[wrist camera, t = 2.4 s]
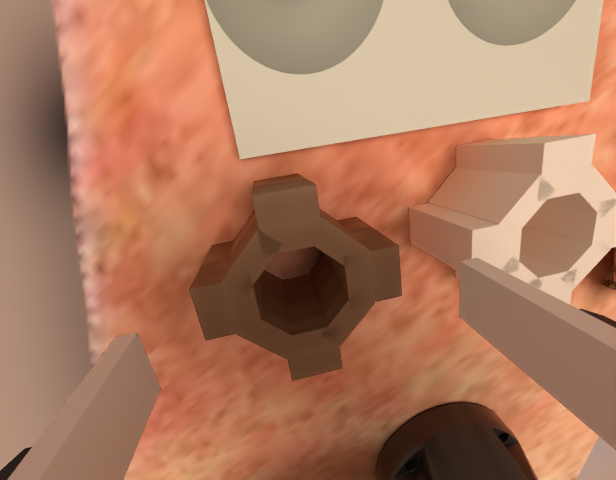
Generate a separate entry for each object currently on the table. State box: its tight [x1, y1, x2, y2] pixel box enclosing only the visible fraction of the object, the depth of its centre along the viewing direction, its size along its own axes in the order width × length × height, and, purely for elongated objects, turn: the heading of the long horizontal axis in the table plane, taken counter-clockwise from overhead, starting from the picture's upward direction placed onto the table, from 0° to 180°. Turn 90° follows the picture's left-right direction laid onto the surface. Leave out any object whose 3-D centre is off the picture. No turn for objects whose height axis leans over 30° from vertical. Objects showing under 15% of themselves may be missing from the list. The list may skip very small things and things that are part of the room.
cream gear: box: [409, 134, 616, 305], centre depth 20 cm, size 11×11×7 cm
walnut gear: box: [189, 174, 402, 381], centre depth 18 cm, size 11×11×7 cm
